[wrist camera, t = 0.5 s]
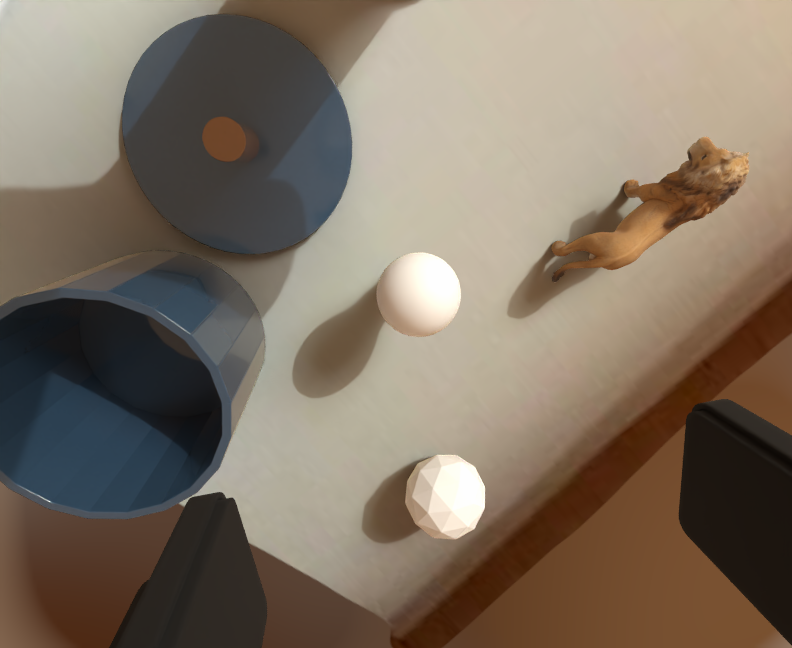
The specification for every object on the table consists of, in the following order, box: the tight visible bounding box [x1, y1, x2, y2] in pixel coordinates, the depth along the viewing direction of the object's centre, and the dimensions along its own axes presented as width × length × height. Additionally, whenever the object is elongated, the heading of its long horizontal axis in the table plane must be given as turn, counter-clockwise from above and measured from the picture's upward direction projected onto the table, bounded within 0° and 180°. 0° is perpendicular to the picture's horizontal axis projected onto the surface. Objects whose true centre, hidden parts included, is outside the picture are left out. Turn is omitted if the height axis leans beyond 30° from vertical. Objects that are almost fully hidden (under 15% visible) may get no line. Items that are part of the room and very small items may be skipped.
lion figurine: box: [552, 137, 749, 282], centre depth 36 cm, size 15×5×9 cm, turn 139°
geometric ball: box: [405, 455, 485, 539], centre depth 44 cm, size 8×8×8 cm
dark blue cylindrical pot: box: [0, 250, 265, 519], centre depth 34 cm, size 16×16×13 cm
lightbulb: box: [377, 252, 461, 337], centre depth 35 cm, size 6×6×11 cm
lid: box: [122, 14, 352, 254], centre depth 33 cm, size 17×17×6 cm
